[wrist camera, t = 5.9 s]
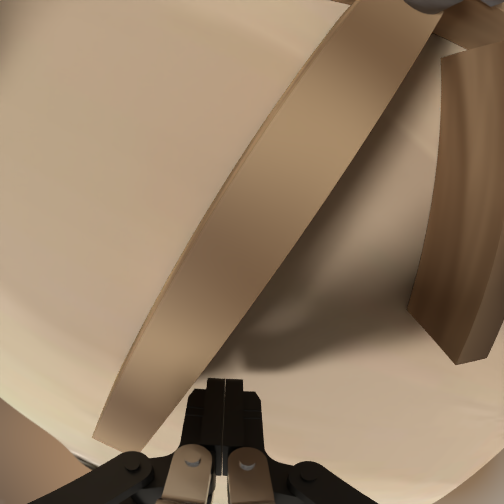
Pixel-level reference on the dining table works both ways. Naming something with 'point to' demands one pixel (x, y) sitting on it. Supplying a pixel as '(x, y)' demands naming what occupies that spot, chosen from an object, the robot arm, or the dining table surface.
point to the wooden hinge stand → (466, 190)
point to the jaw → (265, 208)
